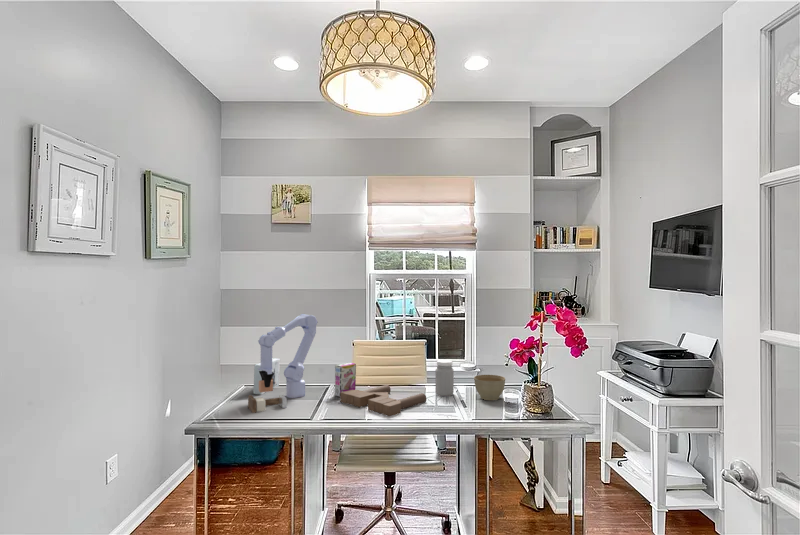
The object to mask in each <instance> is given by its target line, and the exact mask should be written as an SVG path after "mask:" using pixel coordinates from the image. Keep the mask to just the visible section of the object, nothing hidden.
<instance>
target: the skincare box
mask: <svg viewBox="0 0 800 535" xmlns="http://www.w3.org/2000/svg"><path fill="white" fill-rule="evenodd" d="M280 362H281V359H280V358H273V357H272V367H273V369H272V373H274V375H273V377H272V379H271V380H272V381H273V388H274V389H275V387H276V388H277V387H279V386H280V371H281V368H280V366H281V364H280ZM258 368H260V362H259V363H256V364H254V368H253V370H254V372H253V373H254V374H253V391H252V392H253V395H260V396H261V395H263V394H265V392H260V391H259V381H261V380H262V378H261V375H260V373H259V371H262V370H258Z"/></svg>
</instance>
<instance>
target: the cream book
mask: <svg viewBox="0 0 800 535" xmlns="http://www.w3.org/2000/svg"><path fill="white" fill-rule="evenodd" d="M254 398H255V397H254ZM255 399H256V413H257V412H258V413H259V412H264V411H265V412H266V406H265V404H266V399H265V398H264V397H263V396H262V397H256V398H255Z"/></svg>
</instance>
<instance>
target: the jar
mask: <svg viewBox="0 0 800 535" xmlns="http://www.w3.org/2000/svg"><path fill="white" fill-rule="evenodd" d="M454 372H455V371H454V369H453V360H450V359H438V360H436V368H435V390H434V391H435V394H436V395H437V394H438V395H440V397H450V395H451V396H452V395H453V394H454V391H455V390H454V387H455V385H454V384H455V383H454V382H455V381H454V376H455V374H454ZM438 395H437V396H438Z"/></svg>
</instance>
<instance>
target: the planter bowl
mask: <svg viewBox="0 0 800 535" xmlns="http://www.w3.org/2000/svg"><path fill="white" fill-rule="evenodd" d="M473 379H474V380H473V381H474V387H475V389H476V392H477V394H479V397H480V399H481V400H483V399H484V400H485V401H494V400H495V401H498V400H499V399H500V396H501V395H502V393H503V391H504V390H505V385H506V377H504V376H503V375H497V374H479V375H475V376H474V377H473Z"/></svg>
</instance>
